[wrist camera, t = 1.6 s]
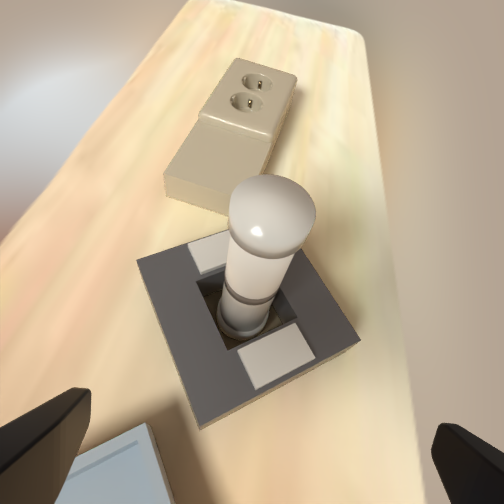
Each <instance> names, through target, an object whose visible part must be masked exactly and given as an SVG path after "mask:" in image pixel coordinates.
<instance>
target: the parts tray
mask: <svg viewBox="0 0 504 504" xmlns="http://www.w3.org/2000/svg"><path fill="white" fill-rule="evenodd" d="M55 504H176V503H175V500H174V497H173V494H172V491H171V488H170V484H169V481H168V478H167V475H166V472H165V469H164V466H163V463H162V460H161V456H160V453H159V450H158V447H157V444H156V441H155V438H154V435H153V431H152V428H151V426H150V425H148V424H147V423H143V424H141V425H139V426H137V427H135V428H133V429H131V430H129V431H127V432H125V433H123V434H121V435H119V436H117V437H115V438H113V439H111V440H109V441H107V442H105V443H103V444H101V445H99V446H97V447H95V448H93V449H91V450H89V451H87V452H85V453H83V454H81V455H79V456H77V457H75V459H74V462H73V464H72V466H71V469H70V471H69V473H68V476H67V478H66V481H65V483H64V485H63V487H62V490H61V492H60V494H59V496H58V498H57V500H56V502H55Z"/></svg>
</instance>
